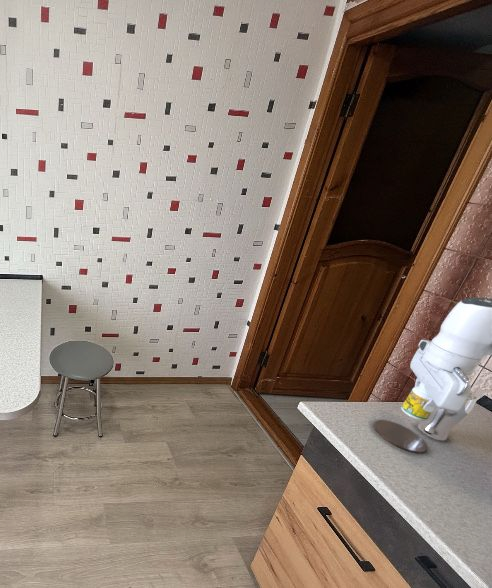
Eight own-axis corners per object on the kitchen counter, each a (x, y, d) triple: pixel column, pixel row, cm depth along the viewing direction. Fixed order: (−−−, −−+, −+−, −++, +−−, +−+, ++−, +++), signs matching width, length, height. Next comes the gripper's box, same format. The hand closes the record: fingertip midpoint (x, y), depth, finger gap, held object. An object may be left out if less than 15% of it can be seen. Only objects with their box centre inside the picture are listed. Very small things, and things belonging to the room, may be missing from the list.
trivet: (417, 432, 94) (418, 430, 94) (432, 460, 85) (433, 458, 85) (369, 416, 99) (370, 414, 99) (379, 441, 90) (380, 439, 90)
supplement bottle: (430, 424, 86) (451, 395, 82) (405, 416, 87) (423, 388, 84) (421, 411, 90) (440, 383, 86) (396, 404, 92) (414, 376, 88)
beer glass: (426, 438, 92) (455, 396, 86) (409, 420, 99) (435, 380, 92) (455, 445, 91) (487, 402, 85) (436, 426, 97) (465, 386, 91)
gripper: (490, 386, 72) (455, 433, 77) (448, 344, 88) (422, 385, 94) (451, 376, 74) (420, 422, 80) (418, 337, 91) (394, 377, 97)
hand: (421, 402), depth 87 cm, fingers closed on supplement bottle, 5 cm apart
